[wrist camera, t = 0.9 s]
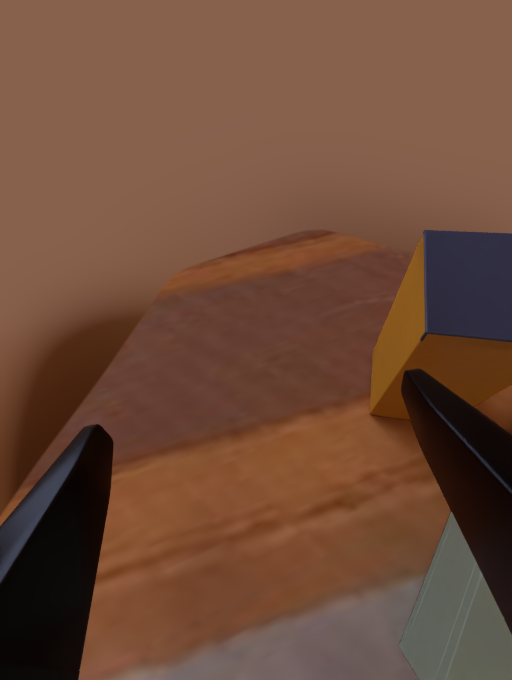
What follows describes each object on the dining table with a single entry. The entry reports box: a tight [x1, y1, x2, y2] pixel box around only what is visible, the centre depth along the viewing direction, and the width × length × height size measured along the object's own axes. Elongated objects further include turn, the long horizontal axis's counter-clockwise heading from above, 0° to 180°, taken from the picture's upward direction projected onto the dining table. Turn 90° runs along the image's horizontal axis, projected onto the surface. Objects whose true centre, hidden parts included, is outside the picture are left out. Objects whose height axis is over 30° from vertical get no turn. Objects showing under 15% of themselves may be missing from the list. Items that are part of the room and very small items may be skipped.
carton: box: [370, 230, 512, 420], centre depth 19 cm, size 5×5×13 cm
